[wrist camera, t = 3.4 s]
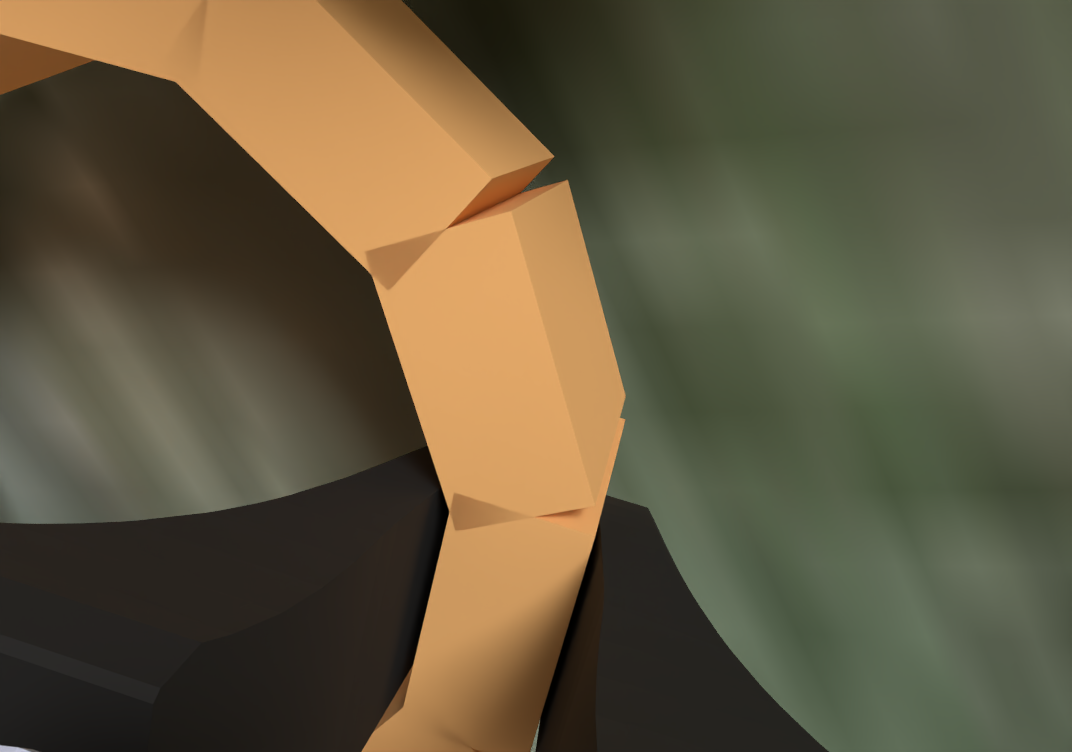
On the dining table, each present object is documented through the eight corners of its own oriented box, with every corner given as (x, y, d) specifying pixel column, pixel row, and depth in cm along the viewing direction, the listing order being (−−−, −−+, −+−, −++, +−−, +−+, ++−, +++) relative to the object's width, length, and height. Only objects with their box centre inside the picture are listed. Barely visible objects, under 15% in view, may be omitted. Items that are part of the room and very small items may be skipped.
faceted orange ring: (-160, 606, 16) (-386, 737, 13) (-180, -168, 12) (-520, -271, 9) (499, 838, 15) (440, 1049, 11) (731, 63, 11) (743, 46, 7)
